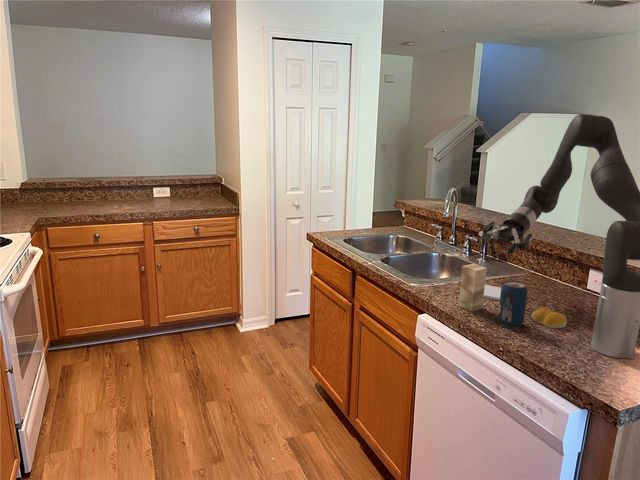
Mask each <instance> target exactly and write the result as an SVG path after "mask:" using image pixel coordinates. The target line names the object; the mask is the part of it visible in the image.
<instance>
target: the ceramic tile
mask: <svg viewBox="0 0 640 480" xmlns="http://www.w3.org/2000/svg"><path fill="white" fill-rule="evenodd" d="M500 294H501V287H500V286H495V285H489V284H485V287H484V296H483V298H484V299H485V298H486V299H491V300H494V301H495V300H496V301H499V302H500Z"/></svg>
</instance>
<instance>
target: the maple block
mask: <svg viewBox="0 0 640 480" xmlns="http://www.w3.org/2000/svg"><path fill="white" fill-rule="evenodd" d="M487 270H488V269H487V267H485V266H482V265H478V264H475V263H472V264H470V263H469V264H467V265H462V267H461V276H460V277H461V279H460V289H459V298H458V307H460V308H462V309H463V310H464V309H465V310H467V311H469V312H475V311H477V310H480V309H483V304H484V297H483V296H484V287H485V285H486V277H487Z"/></svg>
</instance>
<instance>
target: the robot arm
mask: <svg viewBox="0 0 640 480" xmlns="http://www.w3.org/2000/svg"><path fill="white" fill-rule="evenodd" d="M620 145H621V144H620V143H619V138H618V135H617V131H616V127H615V124H614V122H613V121H612V119H610V118H609V117H608V116H603V115H597V114H590V113H589V114H587V113H579V114H576V116H574V117H573V118H572V119H571V121H570V122H569V124H568V127H567V128H566V130H565V133H564V134H563V137H562V140H561V141H560V144H559V146H558V148H557V151H556V154H555V156H554V159H553V160H552V163H551V164H550V166H549V167H548V169H547V170H546V172H545V174H544V175H543V176H542V178H541V180H540V183H539V184H540V185H533V186H531V187H529V188H528V190H527V191H526V194H525V195H524V199H523V202H522V203H521V204H520V206H518V208H516V209H515V210H514V211H513V212H512V213H510V215H509V216H508V217H507V218H506V219H505V220H503V222H502V223H501V224H500V225H496V224H495V221H491V222H490V223H488V224H487V225H486V226H485V227H484V228H483V229H482V238H481V245H482V246H486V245H487V243H489V242H490V240H493V239H494V240H499V239H500V240H505V241H506V242H507V241H508V242H511V243H512V244H511V246H509V247H508V250H507V254H508V255H512V254H514V253H515V252H516V251H518V250H519V249H521V250H522V251H525V250H526V249H527V248H528V247H529V246H530V244H531V242H532V240H533V234H532V233H528V231H529V230H531V228H532V227H533V225H534V224H535V222H536V221H537V220H538V219H539V218H540V216H541V215H542V213H543V214H548V213H552V212H553V211H554V210H555V208H556V207H557V204H558V202H559V198H560V194H561V191H562V190H563V187H564V186H565V185H567V184H566V183H567V182H569V180H570V178H571V175H572V173H573V163H572V157H571V155H572V151H573V150H574V149H575V147H577V146H578V147H583V148H592V149H595V150H596V151H597V152H598V153H597V154H598V156H599V157H598V159H597V160H596V161H595V163H594V165H593V167H592V168H591V171H590V180H591V181H590V182H591V183H592V187H593V189H594V192H595V194H596V196H597V197H598V198H599V200H601V201H602V202H603V203H604V204H605V205H606V206H608V207H609V208H610V209H611V210H613V211H615V212H616V213H617V214H618V215H620V217H622V218H623V219H624V220H616V221H613V222H612V223H611V224H610V226H609V228H608V230H607V232H606V237H605V245H604V255H603V260H602V261H603V262H602V280H601V285H600V291H599V297H598V304H597V309H596V313H595V320H594V325H593V332H592V337H591V342H590V343H591V344H590V346H591V349H593V350H594V351H596V352H598V353H599V354H602V355H603V356H607V357H611V358H615V359H630V360H634V355H635V351H636V347H637V341H638V337H639V336H638V335H639V330H640V273H639V272H636V271H634V270H632V269H629V268H628V260H629V261H630V260H631V261H632V260H633V261H640V189H639V187H638V185H637V182H636V180H635V178H634V175H633V173H632V170H631V168H630V166H629V165H628V162H627V160H626V158H625V156H624V153H623V150H622V149H621V146H620ZM526 233H528V234H526ZM522 239H523V241H522V242H520V240H522Z"/></svg>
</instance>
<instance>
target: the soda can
mask: <svg viewBox="0 0 640 480" xmlns="http://www.w3.org/2000/svg"><path fill="white" fill-rule="evenodd" d="M500 288H501V294H500V301H499V305H498V311H497V312H498V313H497V320H498V323H499V324H500V325H501V326H503V327H506V328H511V329H517V328H520V327H521V326H522V325H523V324H524V321H525V314H526V306H527V299H528V289H527V285H526V283H524V282H521V281H518V280H506V281H504V282H503V285H502V286H501V287H500Z"/></svg>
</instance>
